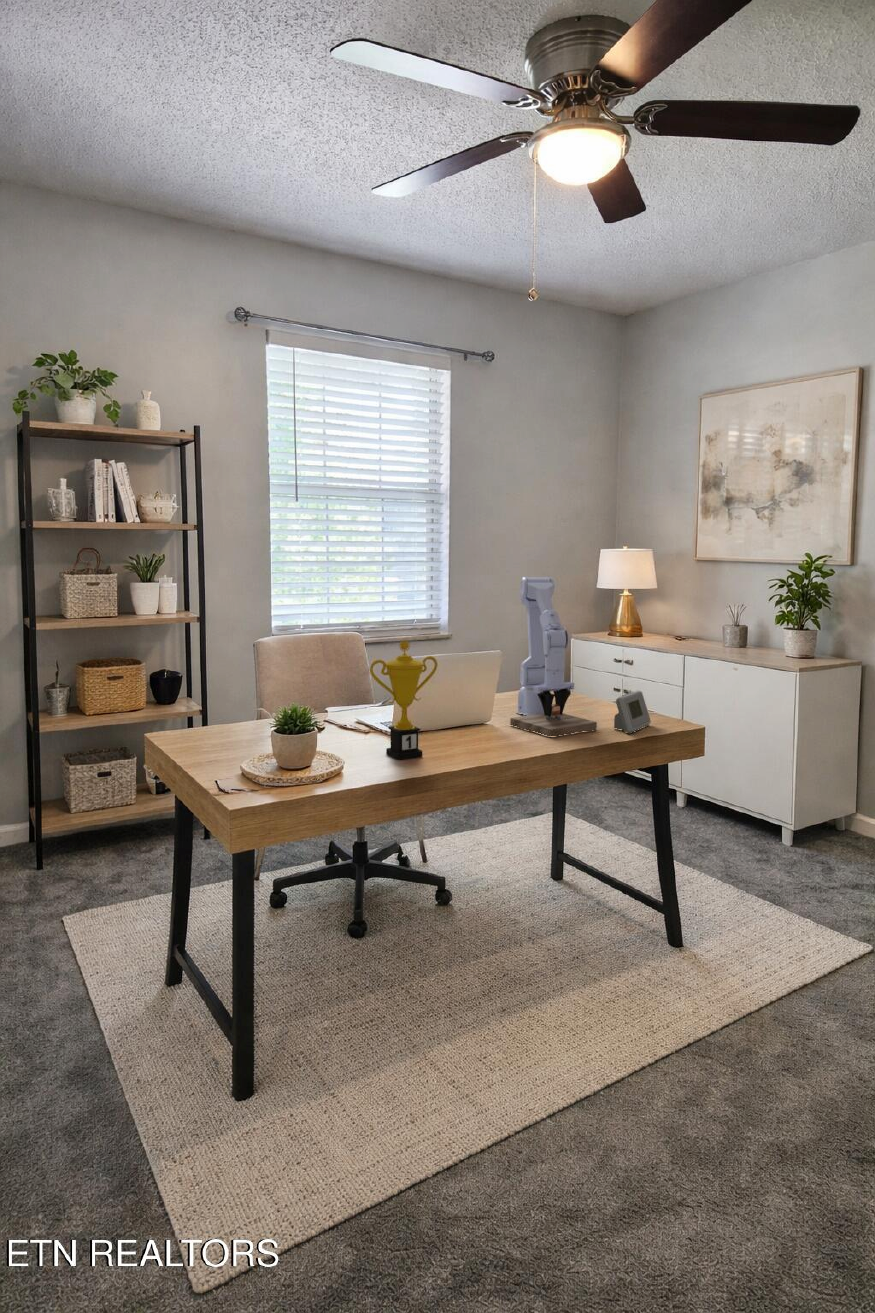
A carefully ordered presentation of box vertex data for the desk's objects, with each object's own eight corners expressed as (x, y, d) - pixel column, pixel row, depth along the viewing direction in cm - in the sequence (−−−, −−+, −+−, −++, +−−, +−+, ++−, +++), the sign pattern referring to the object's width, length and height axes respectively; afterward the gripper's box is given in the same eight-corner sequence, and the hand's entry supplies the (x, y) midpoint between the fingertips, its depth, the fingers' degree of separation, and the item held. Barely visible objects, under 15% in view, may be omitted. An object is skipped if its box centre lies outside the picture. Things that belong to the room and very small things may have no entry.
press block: (510, 726, 242) (510, 714, 242) (554, 719, 252) (555, 708, 252) (550, 738, 227) (551, 726, 227) (596, 730, 237) (596, 718, 237)
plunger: (543, 724, 240) (543, 704, 239) (553, 722, 242) (554, 703, 241) (552, 726, 237) (553, 707, 236) (562, 725, 239) (563, 705, 238)
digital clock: (629, 735, 231) (630, 699, 230) (603, 730, 238) (604, 694, 236) (659, 727, 242) (661, 692, 241) (634, 722, 249) (635, 688, 247)
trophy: (378, 764, 198) (378, 644, 194) (362, 755, 207) (361, 639, 202) (445, 755, 208) (447, 640, 204) (427, 747, 216) (428, 636, 212)
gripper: (545, 673, 230) (543, 720, 232) (582, 669, 238) (580, 714, 240) (529, 670, 236) (527, 715, 238) (565, 666, 244) (564, 710, 246)
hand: (553, 714), depth 239 cm, fingers closed on plunger, 4 cm apart
